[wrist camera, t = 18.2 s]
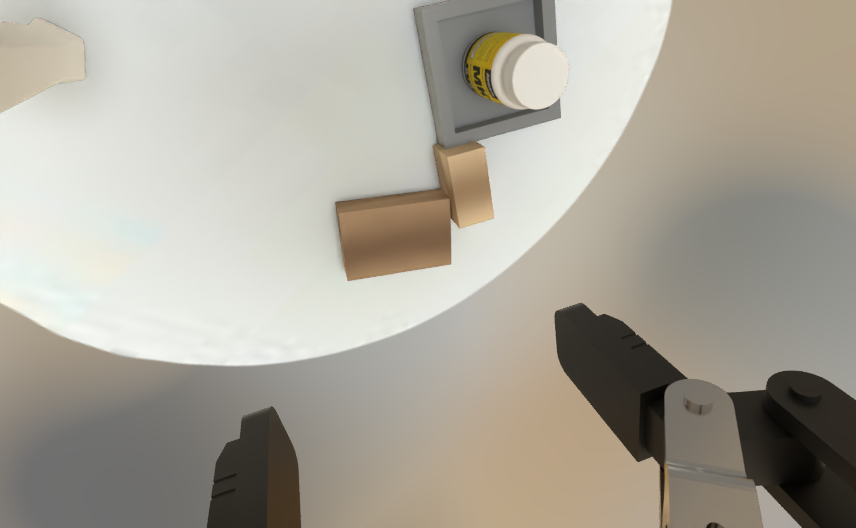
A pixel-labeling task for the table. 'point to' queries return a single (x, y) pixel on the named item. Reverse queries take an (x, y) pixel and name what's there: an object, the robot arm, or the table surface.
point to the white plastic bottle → (36, 60)
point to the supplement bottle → (516, 70)
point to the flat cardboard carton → (394, 233)
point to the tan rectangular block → (465, 182)
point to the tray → (443, 61)
